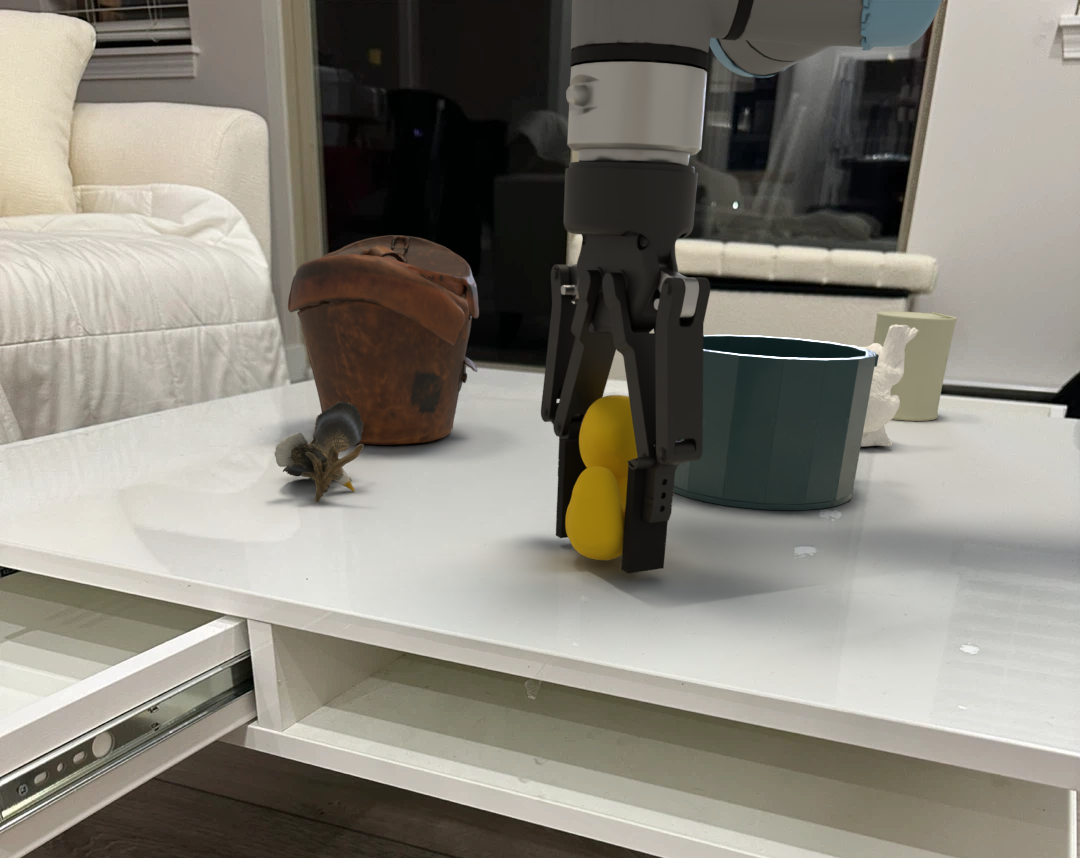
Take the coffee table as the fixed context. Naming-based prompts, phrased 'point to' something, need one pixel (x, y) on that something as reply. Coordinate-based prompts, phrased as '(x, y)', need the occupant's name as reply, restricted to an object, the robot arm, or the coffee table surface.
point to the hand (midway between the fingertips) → (607, 550)
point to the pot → (779, 423)
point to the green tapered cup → (919, 361)
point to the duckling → (602, 479)
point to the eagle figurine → (324, 448)
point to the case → (389, 333)
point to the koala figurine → (885, 384)
